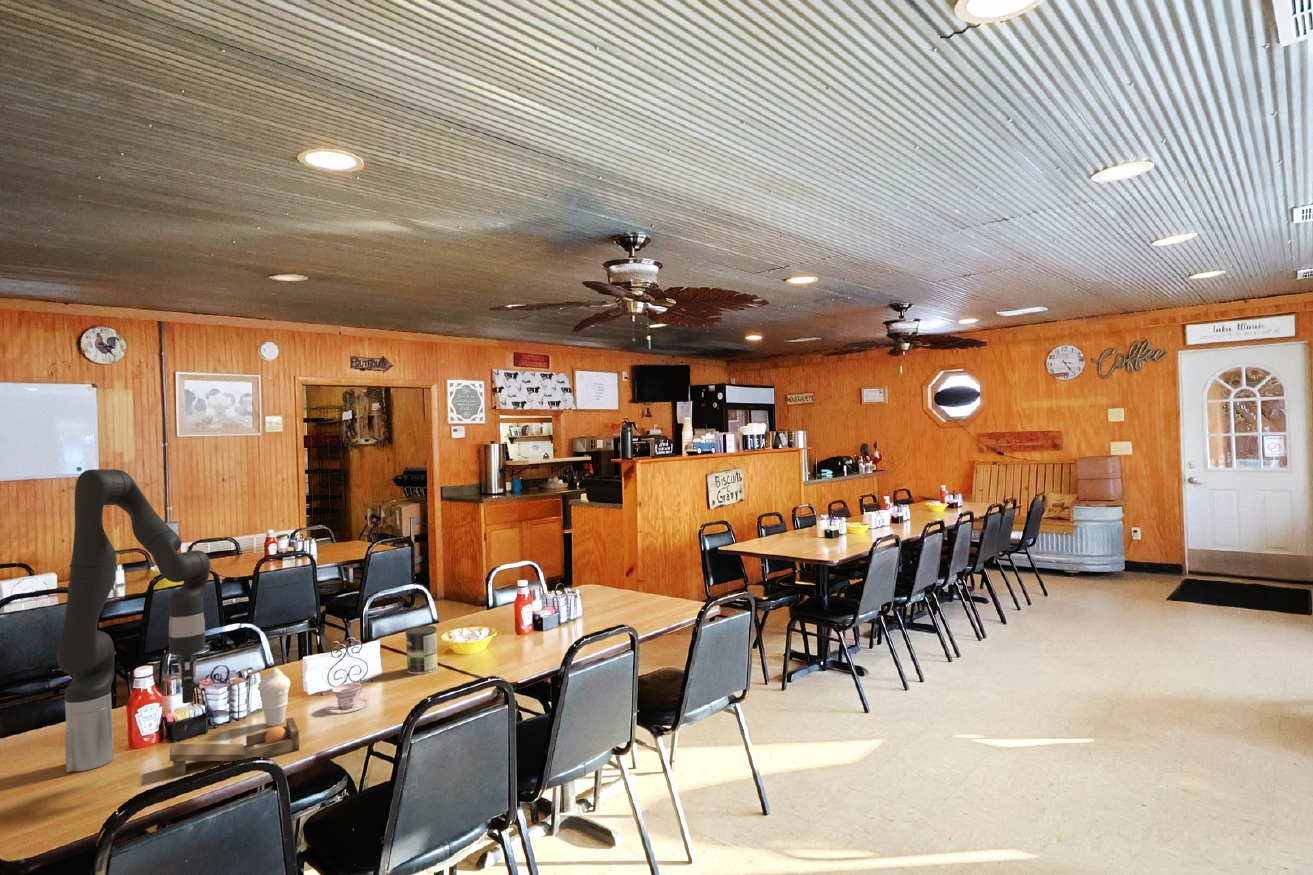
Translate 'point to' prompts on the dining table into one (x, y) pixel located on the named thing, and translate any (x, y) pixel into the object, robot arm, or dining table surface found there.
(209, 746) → the ramp
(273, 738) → the ball
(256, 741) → the box
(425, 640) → the coffee can
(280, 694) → the soft serve ice cream cone
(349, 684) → the teacup
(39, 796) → the dining table surface
